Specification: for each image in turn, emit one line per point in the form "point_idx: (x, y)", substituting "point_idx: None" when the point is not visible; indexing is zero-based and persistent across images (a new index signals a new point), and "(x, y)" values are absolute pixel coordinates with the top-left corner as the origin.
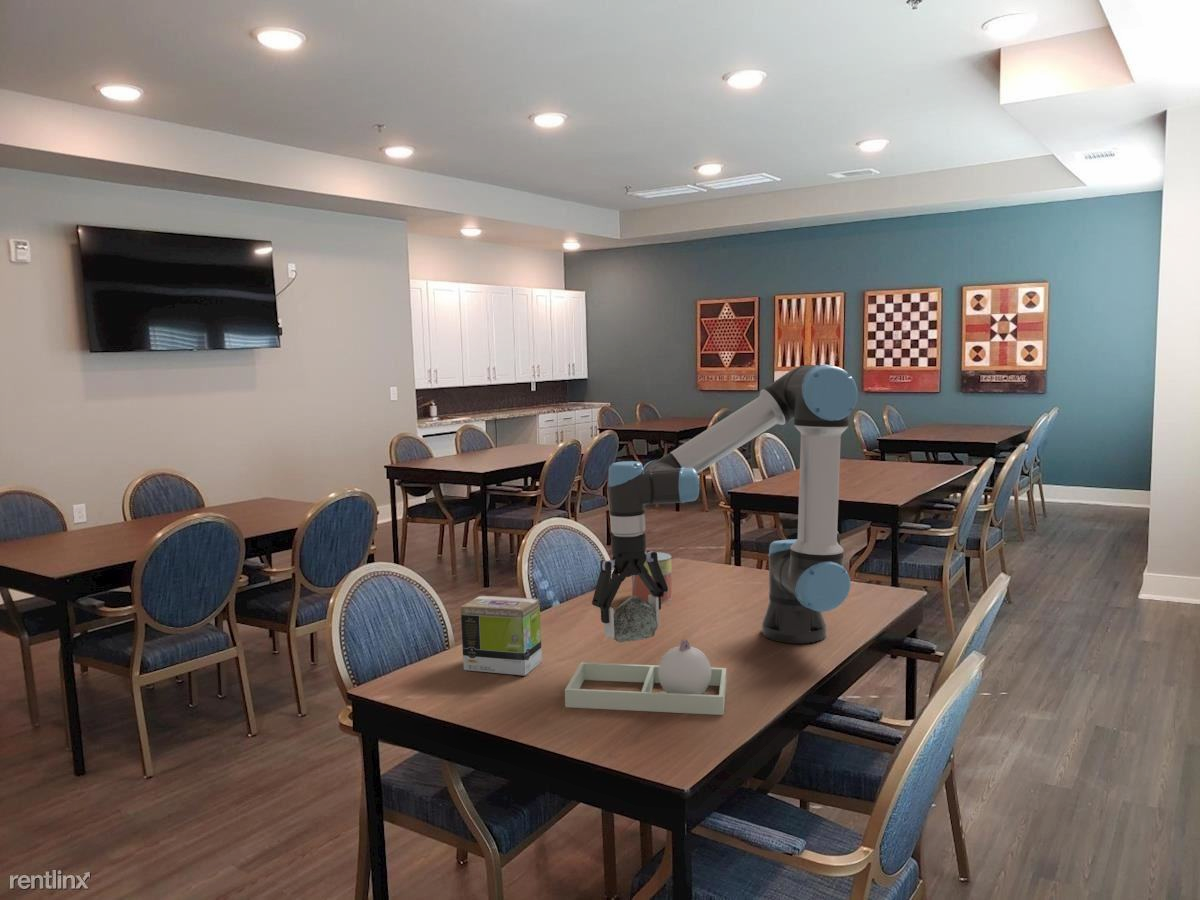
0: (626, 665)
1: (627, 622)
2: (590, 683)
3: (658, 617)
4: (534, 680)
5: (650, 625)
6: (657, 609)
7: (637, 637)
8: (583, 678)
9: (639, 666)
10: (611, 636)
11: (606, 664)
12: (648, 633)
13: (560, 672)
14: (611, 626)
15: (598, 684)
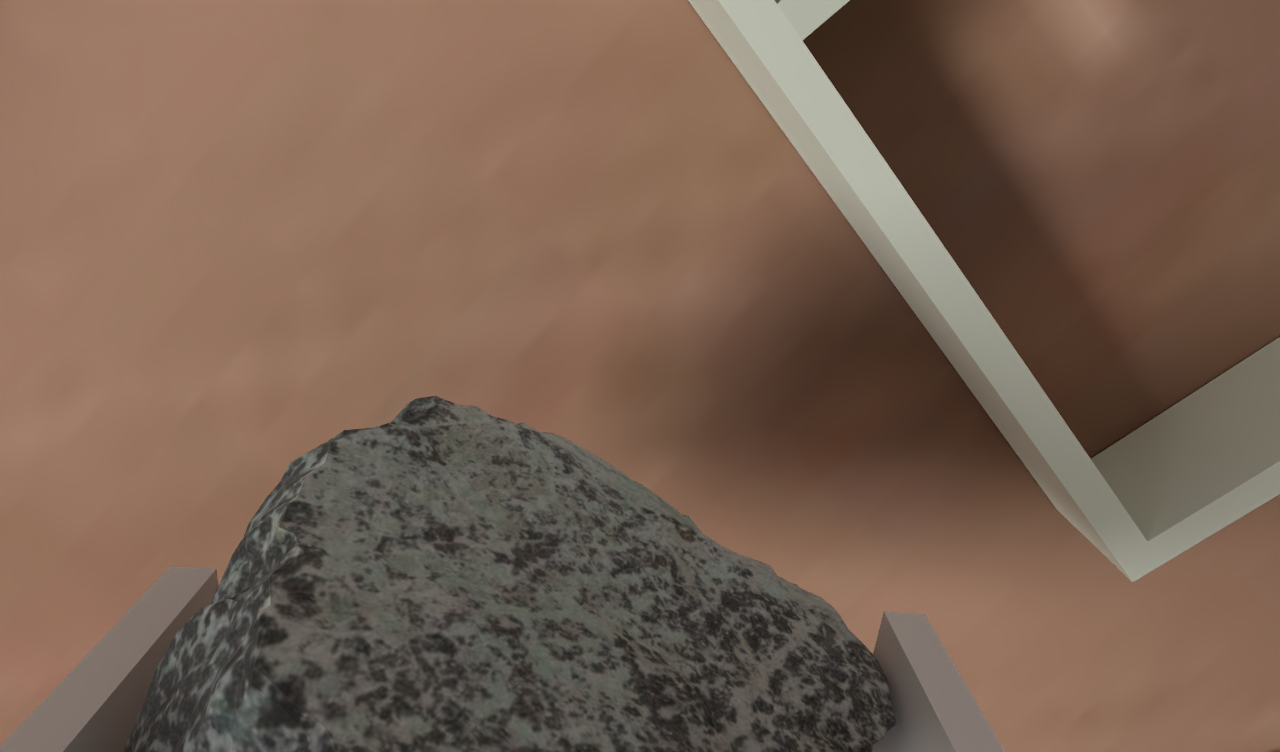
0: (942, 246)
1: (723, 699)
2: (1094, 392)
3: (110, 646)
4: (1272, 678)
5: (421, 492)
6: (32, 750)
7: (622, 490)
8: (1107, 466)
9: (866, 137)
10: (935, 632)
11: (1040, 399)
12: (486, 444)
13: (1051, 678)
14: (988, 729)
15: (1074, 336)
